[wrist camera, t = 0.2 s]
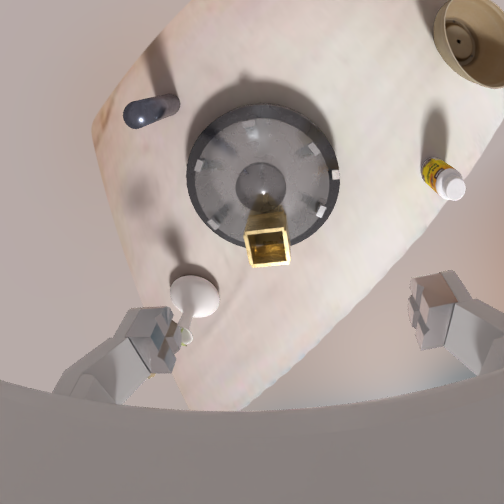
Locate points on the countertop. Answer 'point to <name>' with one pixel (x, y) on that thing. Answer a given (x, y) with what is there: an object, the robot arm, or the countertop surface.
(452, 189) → the supplement bottle
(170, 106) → the pin
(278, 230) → the grey round disc
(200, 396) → the countertop surface
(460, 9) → the planter bowl
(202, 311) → the flower in vase
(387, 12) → the countertop surface
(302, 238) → the housing
